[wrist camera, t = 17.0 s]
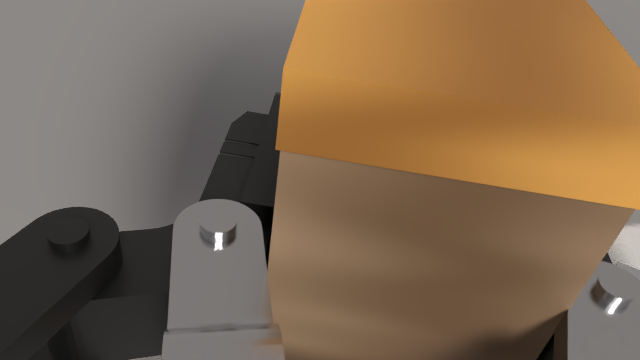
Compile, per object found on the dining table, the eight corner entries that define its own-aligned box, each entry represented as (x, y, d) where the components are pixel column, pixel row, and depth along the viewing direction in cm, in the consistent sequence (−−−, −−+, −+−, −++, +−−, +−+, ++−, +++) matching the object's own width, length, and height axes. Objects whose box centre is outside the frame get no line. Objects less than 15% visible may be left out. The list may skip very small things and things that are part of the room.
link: (241, 493, 12) (283, 67, 5) (273, 333, 15) (322, -51, 9) (431, 524, 12) (692, 135, 5) (422, 357, 15) (579, -8, 9)
